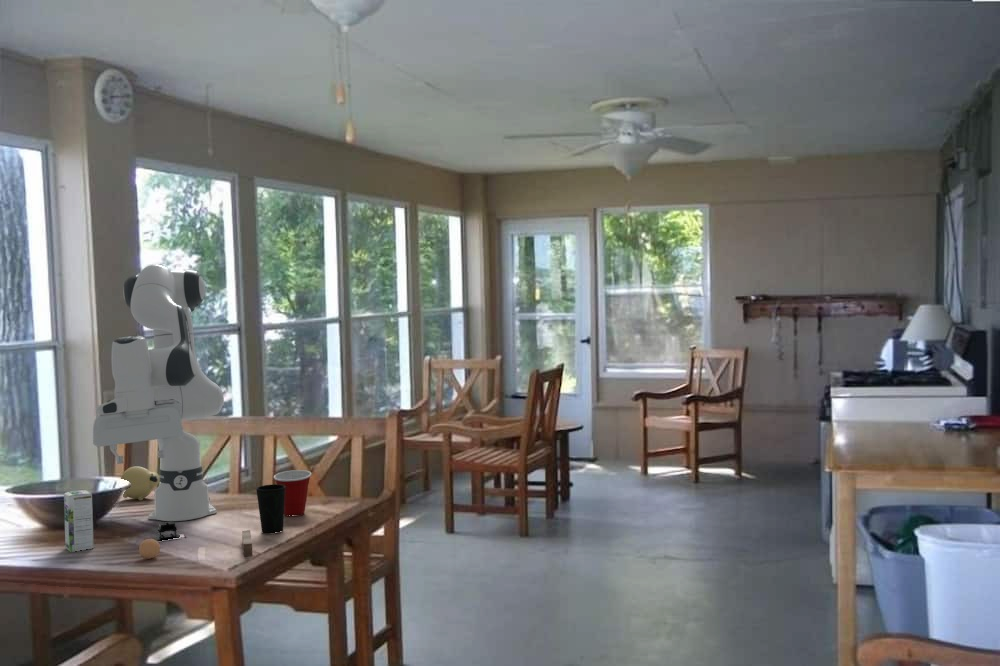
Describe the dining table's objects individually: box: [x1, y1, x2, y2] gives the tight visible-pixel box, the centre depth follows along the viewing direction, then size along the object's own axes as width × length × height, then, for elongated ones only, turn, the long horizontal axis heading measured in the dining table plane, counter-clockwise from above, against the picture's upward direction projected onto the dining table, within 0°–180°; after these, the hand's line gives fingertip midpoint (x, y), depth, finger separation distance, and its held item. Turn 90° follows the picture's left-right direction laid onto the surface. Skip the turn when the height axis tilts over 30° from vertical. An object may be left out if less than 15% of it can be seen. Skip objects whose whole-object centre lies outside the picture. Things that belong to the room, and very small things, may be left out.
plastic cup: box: [273, 469, 312, 517], centre depth 271 cm, size 11×11×12 cm
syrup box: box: [63, 489, 95, 553], centre depth 239 cm, size 6×6×14 cm
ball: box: [138, 538, 161, 560], centre depth 229 cm, size 5×5×5 cm
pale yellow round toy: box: [120, 465, 161, 501], centre depth 299 cm, size 10×12×11 cm
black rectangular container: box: [151, 521, 180, 542], centre depth 248 cm, size 12×7×5 cm, turn 119°
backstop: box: [241, 529, 253, 557], centre depth 235 cm, size 14×2×3 cm, turn 17°
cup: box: [256, 483, 286, 534], centre depth 252 cm, size 8×8×12 cm
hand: (141, 460), depth 224 cm, fingers open, 8 cm apart
